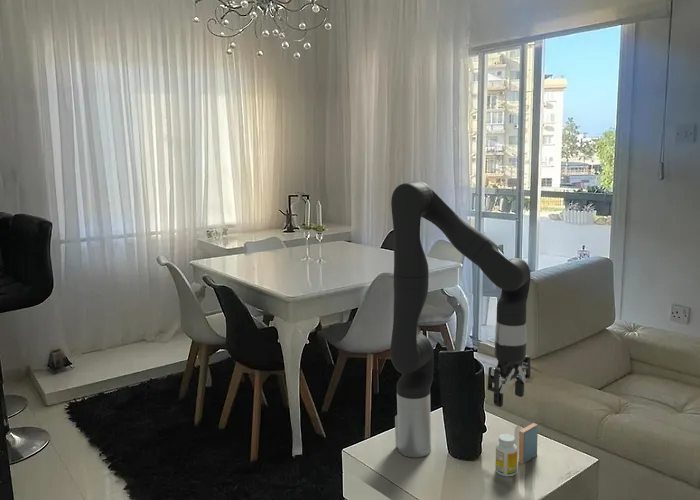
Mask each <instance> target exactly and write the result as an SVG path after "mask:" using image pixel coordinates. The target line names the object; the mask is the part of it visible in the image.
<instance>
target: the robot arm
mask: <svg viewBox="0 0 700 500" xmlns="http://www.w3.org/2000/svg"><path fill="white" fill-rule="evenodd" d="M390 200H391V201H390V202H391V203H390V204H391V205H390V206H391V207H390V208H391V218H392V227H393V318H392V319H393V321H392V322H393V323H392V332H391V341H390V353H389V354H390V361H391V363H392V365H393V367H394V369H395V370H396V371H397V372H398V373H400V374H401V376H400V377H399V379H398V380H397V382H396V403H397V404H396V407H397V408H396V411H397V412H396V413H397V414H396V415H395V416H394V429H395V430H394V432H395V433H394V434H395V436H394V437H395V447H396V448H397V449H398V450H397V451H398V452H399V453H400V454H401V455H402V456H405V457H409V458H422V457H425V456H428V455H429V454H430V453H431V452H432V442H431V441H432V440H431V439H432V431H431V428H432V427H431V426H432V425H431V423H432V422H431V421H432V420H431V386H432V384H433V380H434V363H435V362H434V360H435V359H434V356H435V355H434V348H433V345H432V343H431V341H430V339H428V337H427V336H426V335H424V334H422V333H418V324H419V319H420V316H421V314H422V311H423V309H424V306H425V303H426V300H427V298H428V291H429V276H430V275H429V264H428V260H427V257H426V254H425V251H424V248H423V245H422V241H421V223H422V222H421V221H422V218H423V219H425V220H427V221H428V222H430V223H432V224H433V225H435V226H436V228H438V229H439V230H440V231H441V232H442V233H443V235H445V237H446V238H447V239H448V241H449V243H450V244H451V245H452V246H453V247H454V248H455V249H456V251H458V252H459V253H460V254H462V255H463V257H466V258H467V259H468V260H469V261H470V262H472V263H473V264H475V266H477V267H478V268H479V269H480V270H481V271H482V273H483V274H484V275H485V276H486V277H487V278H488V279H489V280H490V281H491V283H493V284H494V285H495V286H496V287H498V288H499V289H501V295H500V297H499V299H498V301H497V304H496V323H495V328H494V329H495V330H494V357H495V359H496V360H497V364H496V365H497V366H495V367H493V366H489V367H488V374H487V375H488V376H487V389H486V390H488V391H490V392H492V393H493V404H494V406H496V407H499V408H503V406H504V391H505V388H506V387H507V386H508V385H509V383H510V381H511V380H513V379H515V381H514V395H515V396H516V397H519V398H522V397H524V396H525V384H526V382H527V379H530V378H531V356H528V355H527V338H528V337H527V335H528V333H527V300H528V297H529V291H530V290H529V289H530V285H531V269H530V266H529V264H528V263H527V262H526V261H525V260H524V259H521V258H518V257H513V258H510V259H507V258H506V256H504V255H503V254H502V253H501V252H499V246H498V245H497V244H496V243H495V242H494V241H493V240H491V239H490V238H489V237H487V236H486V235H485V234H483V233H482V232H480V231H479V230H478V229H477V228H475V227H474V226H472V225H471V224H470V223H469V222H467V221H466V220H465V219H464V218H463V217H462V216H460V215H459V214H458V213H457V212H456V211H455V210H453V208H451V207H450V205H448V204H447V202H445V201H444V200H443V199H442V197H440V196H439V194H437V192H435V190H434V189H433V188H431V186H429V184H427V183H425V182H424V181H410V182H409V181H408V182H404V183H401V184H399V185H398V186H396V187H395V188H394V190H393V192H392V195H391V199H390Z"/></svg>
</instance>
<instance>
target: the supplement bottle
mask: <svg viewBox="0 0 700 500" xmlns="http://www.w3.org/2000/svg"><path fill="white" fill-rule="evenodd" d="M515 443H516V438H515V436H514V435H512V434H510V433H502V434H499V435H498V442H497V443H496V445H495V471H496V473H497V474H499V475H500V476H503V477H513V476H515V475H516V474H517V470H518V464H517V463H518V447H517V444H515Z"/></svg>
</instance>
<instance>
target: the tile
mask: <svg viewBox="0 0 700 500" xmlns="http://www.w3.org/2000/svg"><path fill="white" fill-rule="evenodd" d="M538 428H539V427H538V424H537V423H535V422H532V423H530V424H529V425H527V426H525V427H524V428H521V429H520V430H519V431H518V432H519V433H518V462H519V464H522V465H524V464H525V463H528V462H529V461H530V460H532V459H533V458H535V457H536V456H538Z"/></svg>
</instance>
